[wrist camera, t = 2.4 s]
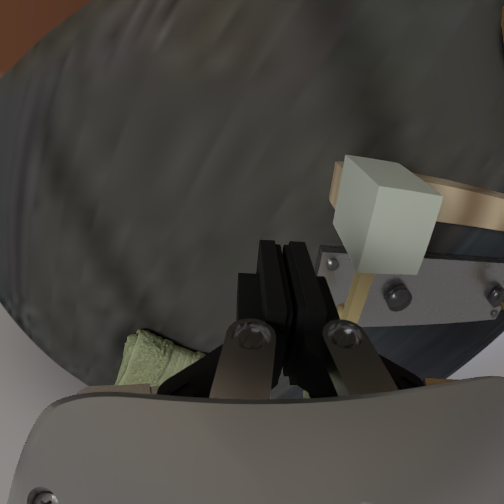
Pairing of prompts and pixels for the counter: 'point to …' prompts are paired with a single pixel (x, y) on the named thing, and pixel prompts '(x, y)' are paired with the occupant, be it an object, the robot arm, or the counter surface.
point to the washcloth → (152, 359)
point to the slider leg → (382, 223)
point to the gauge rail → (452, 202)
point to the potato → (502, 23)
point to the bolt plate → (421, 289)
